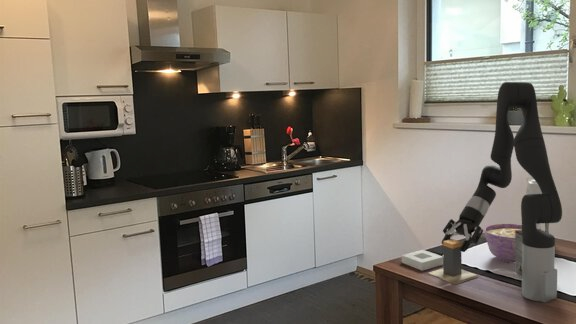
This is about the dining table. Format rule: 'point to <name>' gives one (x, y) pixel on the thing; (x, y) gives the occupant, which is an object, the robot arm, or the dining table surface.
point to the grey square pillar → (452, 258)
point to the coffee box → (519, 252)
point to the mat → (455, 279)
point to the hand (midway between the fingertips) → (452, 247)
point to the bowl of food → (502, 240)
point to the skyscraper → (535, 189)
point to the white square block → (422, 259)
